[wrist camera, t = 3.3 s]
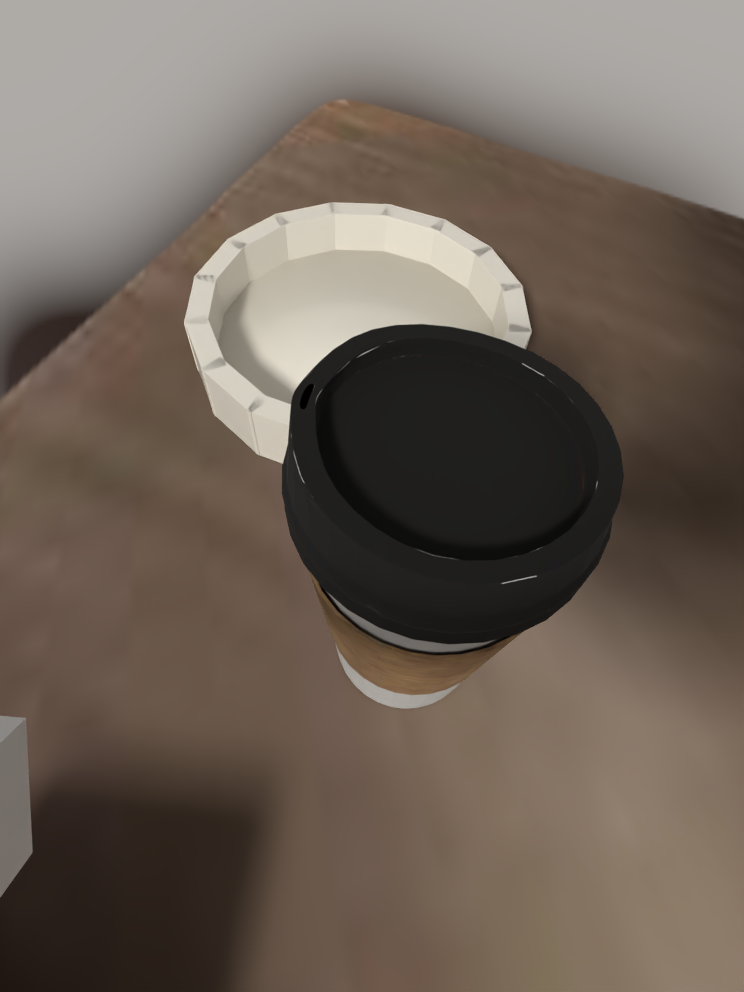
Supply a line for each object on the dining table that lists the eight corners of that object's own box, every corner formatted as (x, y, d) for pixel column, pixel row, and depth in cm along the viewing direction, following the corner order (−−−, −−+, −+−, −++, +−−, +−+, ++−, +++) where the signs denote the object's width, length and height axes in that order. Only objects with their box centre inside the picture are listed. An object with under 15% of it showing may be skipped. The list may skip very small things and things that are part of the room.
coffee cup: (336, 537, 29) (329, 277, 16) (509, 576, 28) (645, 336, 15) (282, 712, 25) (216, 545, 12) (486, 765, 24) (649, 647, 11)
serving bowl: (359, 217, 42) (360, 168, 40) (575, 355, 36) (595, 309, 33) (136, 344, 35) (116, 296, 32) (356, 545, 29) (358, 509, 26)
